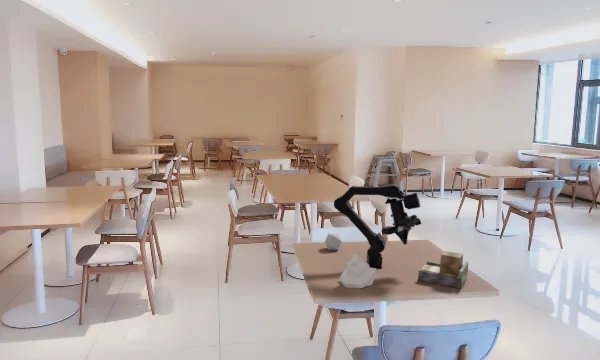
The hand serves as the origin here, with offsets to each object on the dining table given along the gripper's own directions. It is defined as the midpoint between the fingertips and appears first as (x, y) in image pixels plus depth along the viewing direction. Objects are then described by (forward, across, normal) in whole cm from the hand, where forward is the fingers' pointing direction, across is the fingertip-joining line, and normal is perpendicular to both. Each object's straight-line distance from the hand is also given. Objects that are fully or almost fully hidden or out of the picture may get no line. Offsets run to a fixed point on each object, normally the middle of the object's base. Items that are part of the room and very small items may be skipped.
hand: (405, 244), depth 223 cm
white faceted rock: (+7, -33, -6) cm, 34 cm away
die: (+2, -16, +43) cm, 46 cm away
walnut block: (+14, +8, -17) cm, 23 cm away
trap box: (+17, +6, -13) cm, 22 cm away
